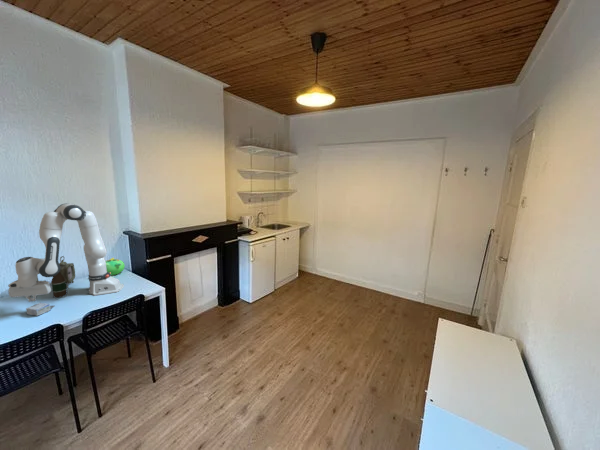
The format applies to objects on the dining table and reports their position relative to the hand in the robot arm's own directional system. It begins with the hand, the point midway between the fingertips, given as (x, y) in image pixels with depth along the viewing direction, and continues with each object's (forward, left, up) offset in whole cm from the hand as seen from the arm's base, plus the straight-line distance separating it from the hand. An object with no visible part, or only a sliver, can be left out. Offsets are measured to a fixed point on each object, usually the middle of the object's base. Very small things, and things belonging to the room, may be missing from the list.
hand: (32, 301), depth 169 cm
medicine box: (0, +1, -5) cm, 5 cm away
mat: (-5, 0, -7) cm, 9 cm away
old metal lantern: (0, -39, -7) cm, 40 cm away
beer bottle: (-5, -21, -7) cm, 23 cm away
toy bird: (-27, -57, -7) cm, 63 cm away
